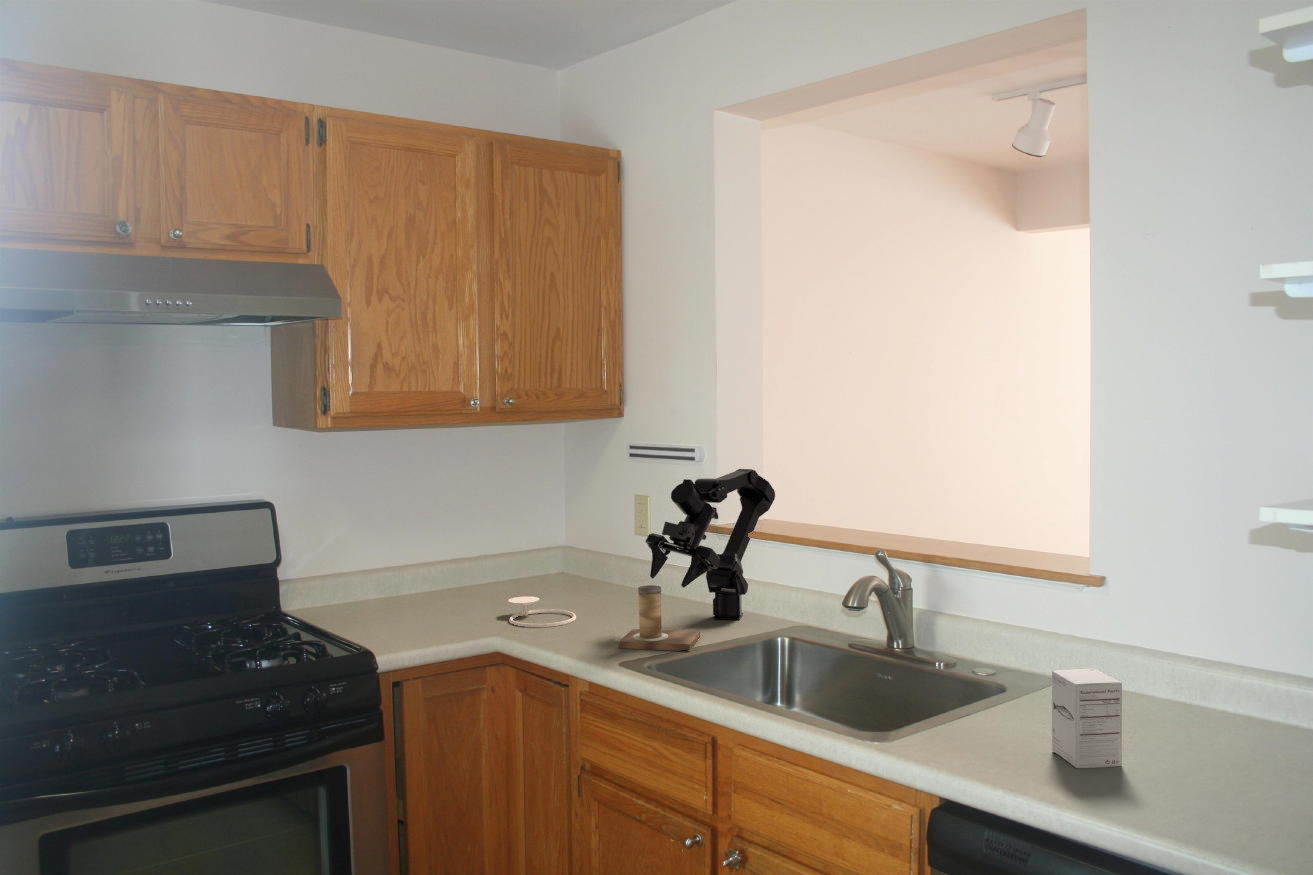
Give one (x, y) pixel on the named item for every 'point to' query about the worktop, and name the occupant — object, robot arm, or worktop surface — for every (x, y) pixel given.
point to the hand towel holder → (531, 600)
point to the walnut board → (661, 640)
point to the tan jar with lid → (650, 611)
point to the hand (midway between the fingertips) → (666, 582)
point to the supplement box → (1087, 718)
